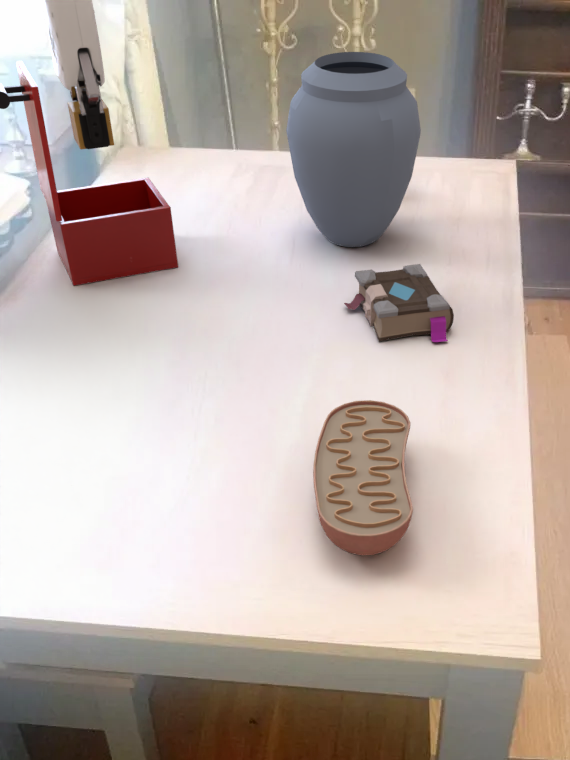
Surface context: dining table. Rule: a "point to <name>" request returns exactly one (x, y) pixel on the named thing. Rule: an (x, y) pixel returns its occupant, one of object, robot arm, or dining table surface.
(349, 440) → the anatomical model
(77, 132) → the brass block
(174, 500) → the dining table surface
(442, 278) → the dining table surface
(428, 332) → the book
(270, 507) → the dining table surface
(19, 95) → the red box lid
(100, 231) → the red open box
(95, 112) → the robot arm
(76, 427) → the dining table surface
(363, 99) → the vase
